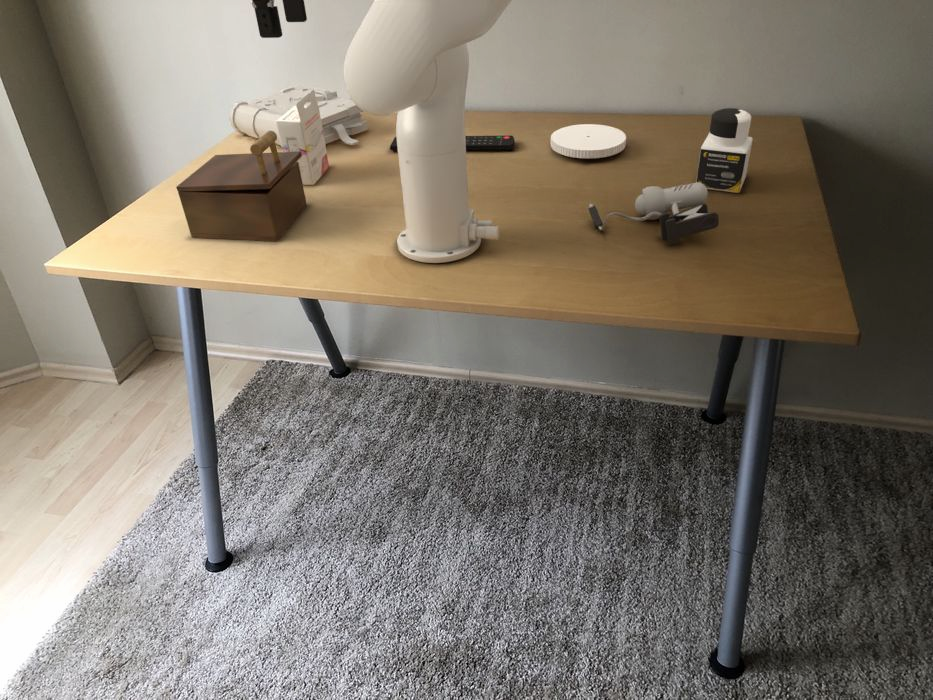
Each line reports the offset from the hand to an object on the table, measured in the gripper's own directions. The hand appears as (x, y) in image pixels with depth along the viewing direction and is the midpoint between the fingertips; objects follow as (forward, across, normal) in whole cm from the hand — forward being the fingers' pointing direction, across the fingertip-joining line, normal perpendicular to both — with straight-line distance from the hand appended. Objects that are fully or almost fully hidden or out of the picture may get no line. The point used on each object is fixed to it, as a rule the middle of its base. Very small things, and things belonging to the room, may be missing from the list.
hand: (284, 29), depth 107 cm
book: (+28, +33, +14) cm, 46 cm away
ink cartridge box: (+28, +12, +6) cm, 31 cm away
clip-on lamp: (+28, -4, -55) cm, 62 cm away
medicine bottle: (+28, +14, -67) cm, 74 cm away
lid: (+20, -7, +9) cm, 23 cm away
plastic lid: (+28, +28, -44) cm, 59 cm away
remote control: (+28, +28, -18) cm, 44 cm away
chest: (+28, -7, +9) cm, 30 cm away
